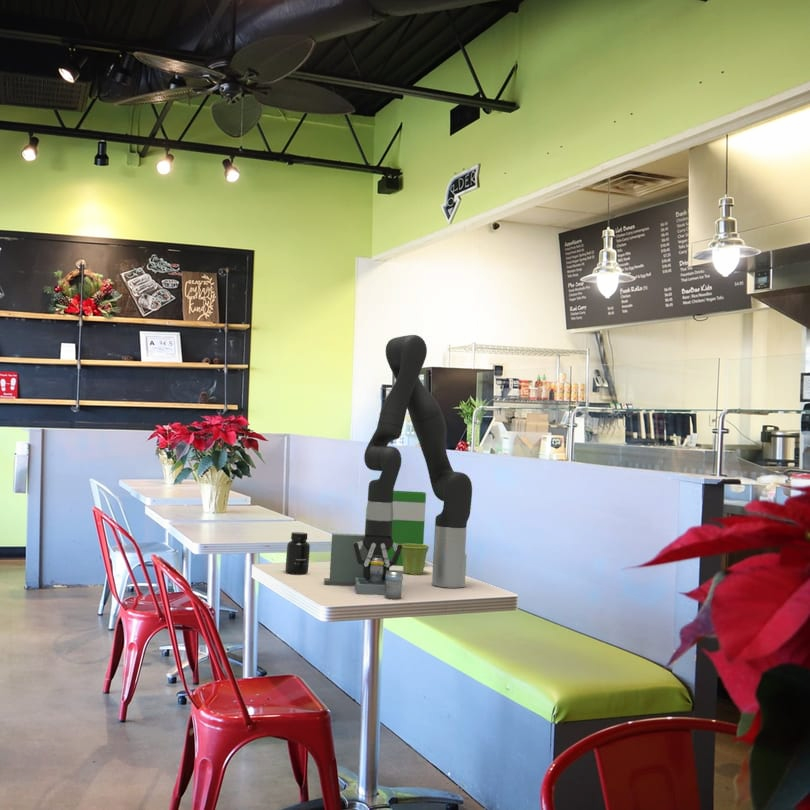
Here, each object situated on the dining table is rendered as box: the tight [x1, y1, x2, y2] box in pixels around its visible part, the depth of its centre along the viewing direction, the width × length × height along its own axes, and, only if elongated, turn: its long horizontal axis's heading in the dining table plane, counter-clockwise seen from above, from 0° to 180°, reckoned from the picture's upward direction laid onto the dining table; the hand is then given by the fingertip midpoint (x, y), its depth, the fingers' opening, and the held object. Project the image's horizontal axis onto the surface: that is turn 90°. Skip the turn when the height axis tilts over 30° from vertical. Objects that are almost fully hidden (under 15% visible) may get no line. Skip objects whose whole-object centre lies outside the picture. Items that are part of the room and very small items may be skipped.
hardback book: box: [387, 490, 427, 567], centre depth 305 cm, size 18×7×24 cm, turn 91°
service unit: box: [323, 532, 383, 587], centre depth 261 cm, size 18×5×14 cm, turn 96°
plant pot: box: [401, 544, 430, 575], centre depth 287 cm, size 9×9×9 cm
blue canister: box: [384, 569, 404, 601], centre depth 244 cm, size 5×5×7 cm
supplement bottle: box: [285, 531, 311, 575], centre depth 276 cm, size 7×7×12 cm
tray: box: [354, 578, 386, 596], centre depth 253 cm, size 11×11×2 cm
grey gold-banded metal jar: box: [368, 556, 385, 584], centre depth 253 cm, size 5×5×7 cm
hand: (375, 579), depth 253 cm, fingers closed on grey gold-banded metal jar, 4 cm apart
